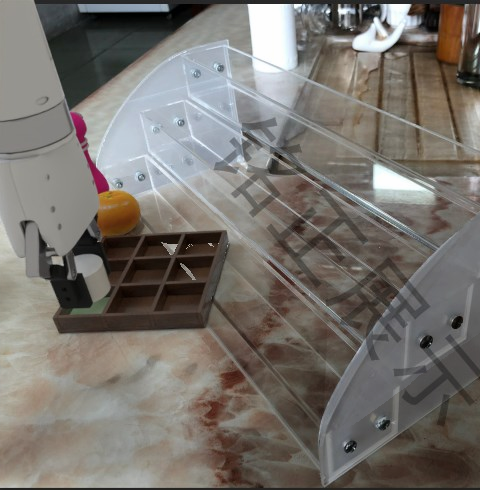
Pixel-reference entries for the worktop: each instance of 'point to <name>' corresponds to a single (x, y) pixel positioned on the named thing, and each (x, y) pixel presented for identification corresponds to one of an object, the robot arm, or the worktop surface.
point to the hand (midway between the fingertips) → (87, 288)
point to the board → (153, 283)
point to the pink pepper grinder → (80, 133)
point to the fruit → (117, 213)
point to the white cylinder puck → (93, 275)
